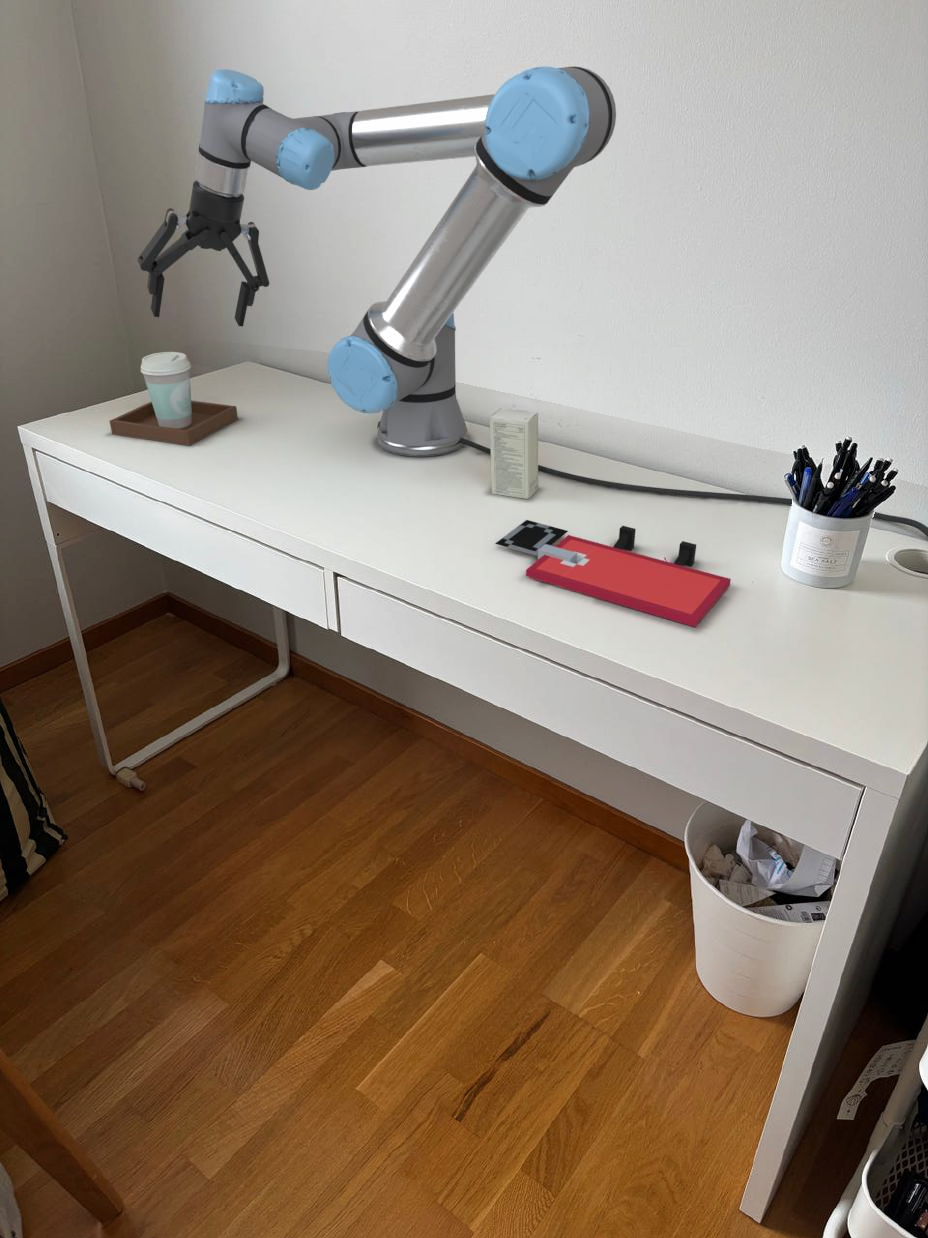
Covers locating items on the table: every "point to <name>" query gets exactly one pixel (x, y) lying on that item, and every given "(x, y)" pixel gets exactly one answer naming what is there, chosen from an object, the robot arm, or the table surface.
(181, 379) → the coffee cup
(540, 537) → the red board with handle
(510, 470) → the cosmetic box
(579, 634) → the table surface
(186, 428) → the tray
